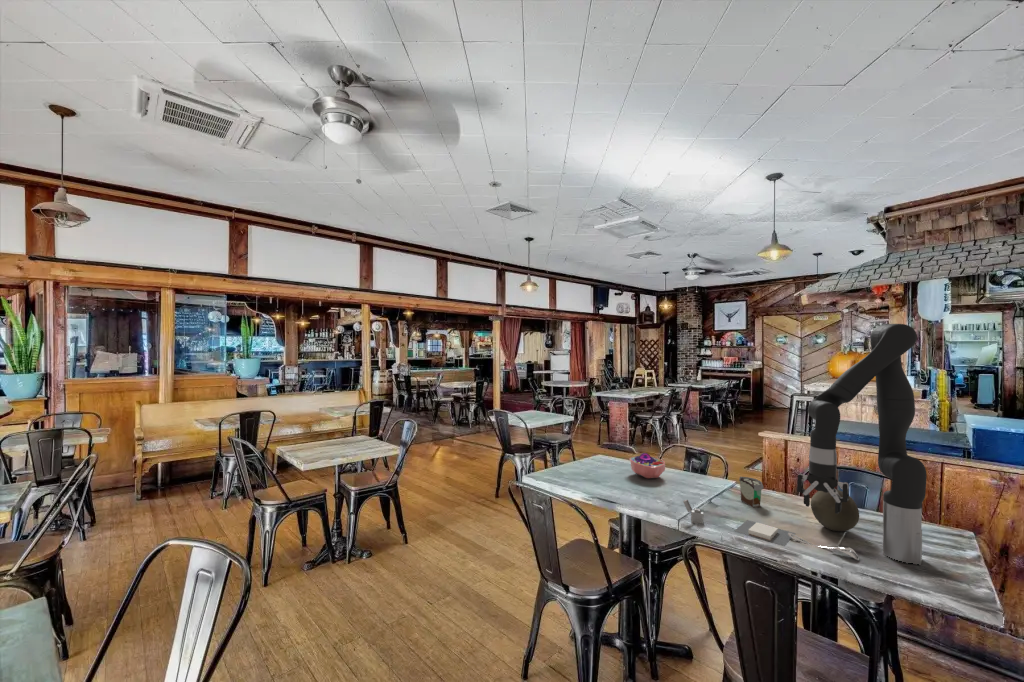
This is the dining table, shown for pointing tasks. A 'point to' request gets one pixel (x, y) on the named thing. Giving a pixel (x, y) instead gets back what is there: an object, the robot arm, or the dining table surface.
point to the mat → (779, 539)
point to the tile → (763, 531)
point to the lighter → (694, 513)
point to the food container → (750, 491)
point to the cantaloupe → (826, 511)
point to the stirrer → (840, 548)
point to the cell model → (647, 465)
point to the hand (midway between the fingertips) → (821, 509)
